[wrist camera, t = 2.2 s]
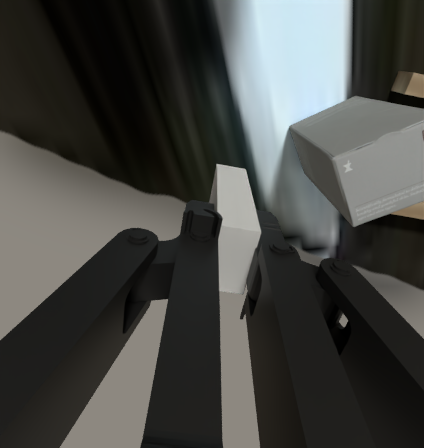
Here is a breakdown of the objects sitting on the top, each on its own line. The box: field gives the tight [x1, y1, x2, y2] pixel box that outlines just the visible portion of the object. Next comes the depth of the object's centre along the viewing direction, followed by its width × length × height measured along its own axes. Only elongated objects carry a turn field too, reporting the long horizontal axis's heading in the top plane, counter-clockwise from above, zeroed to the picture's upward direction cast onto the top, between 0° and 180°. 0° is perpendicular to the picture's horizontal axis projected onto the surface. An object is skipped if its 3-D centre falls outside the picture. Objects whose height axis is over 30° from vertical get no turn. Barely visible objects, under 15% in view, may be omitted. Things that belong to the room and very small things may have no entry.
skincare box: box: [289, 96, 424, 227], centre depth 31 cm, size 8×7×16 cm
